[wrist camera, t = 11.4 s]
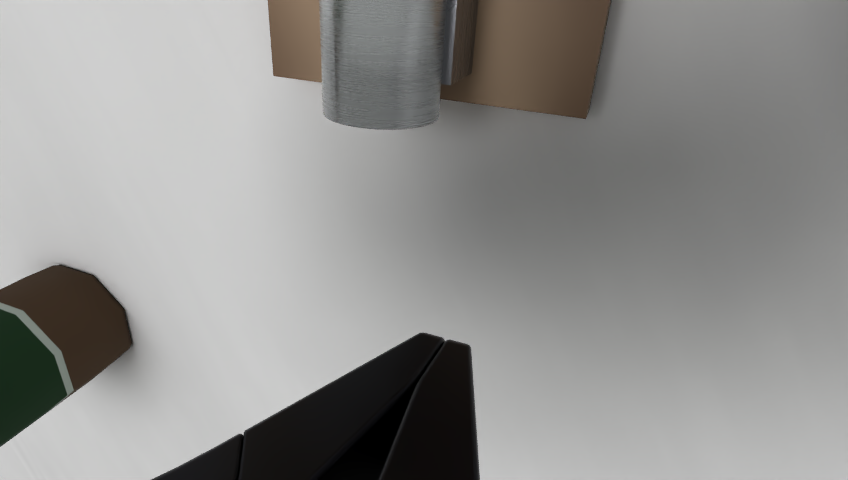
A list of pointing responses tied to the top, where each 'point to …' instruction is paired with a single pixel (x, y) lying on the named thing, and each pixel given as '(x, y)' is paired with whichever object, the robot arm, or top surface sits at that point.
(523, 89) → the valve base
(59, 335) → the beer bottle
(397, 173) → the top surface
